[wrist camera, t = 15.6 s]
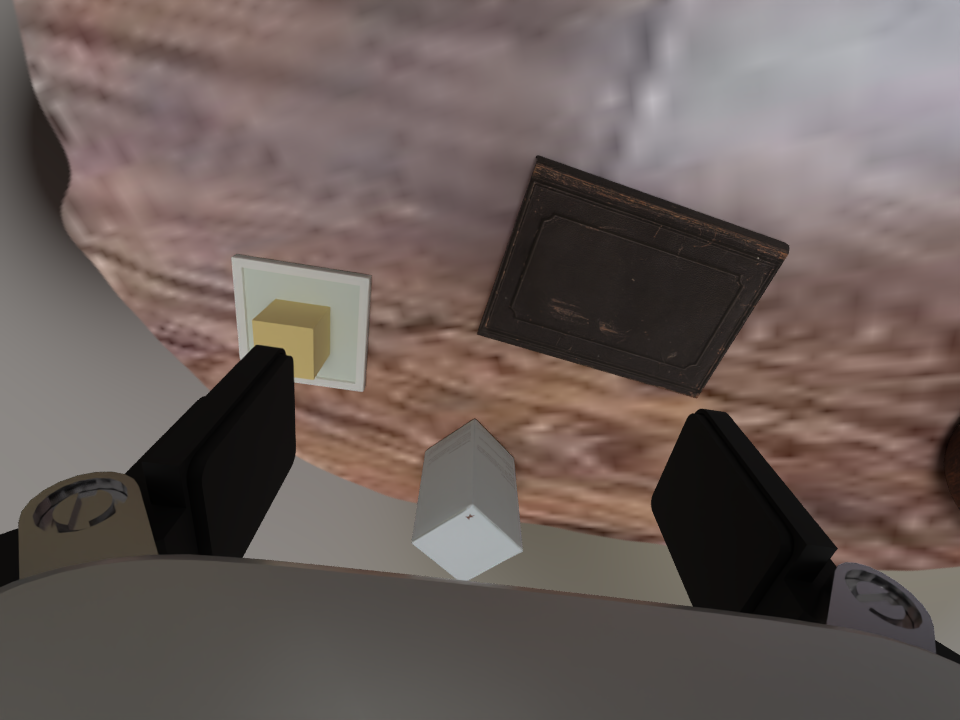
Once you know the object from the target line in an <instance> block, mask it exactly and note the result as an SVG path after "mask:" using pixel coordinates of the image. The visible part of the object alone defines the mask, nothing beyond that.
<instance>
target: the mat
mask: <svg viewBox="0 0 960 720" xmlns="http://www.w3.org/2000/svg"><path fill="white" fill-rule="evenodd" d="M231 259H232V270H233V282H234V294H235V306H236V318H237V329H238V341H239V353H240V360H241V359H242V358H243V357H244V356H245V355H246V354H247V353H248V352H249V351H250V350H251V349H252V348H253V347H254V341H253V328H252V320H253V319H254V318H255V317H256V316H257V315H258V314H259V313H260V312H261V311H263V310H264V309H265V308H266V307H267V306H268V305H269V304H270V303H271V302H273V301H274V300H275V299H280V300H287V301H294V302H301V303H308V304H314V305H321V306H328V307H330V355H329V357H328V358H327V360H326V361H325V363H324V364H323V366H322V368H321V369H320V371H319V372H318V374H317V376H316V377H315V379H314V380H310V379H302V378H295V377H294V382H296V383H303V384H310V385H317V386H324V387H331V388H339V389H346V390H353V391H360V392H363V391H364V388H365V382H366V364H367V347H368V330H369V313H370V295H371V278H372V275H367V274H361V273H354V272H348V271H341V270H335V269H329V268H322V267H316V266H310V265H303V264H297V263H291V262H284V261H278V260H272V259H265V258H259V257H253V256H246V255H240V254H236V255H234V256H232V257H231Z"/></svg>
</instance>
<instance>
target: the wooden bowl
mask: <svg viewBox="0 0 960 720" xmlns="http://www.w3.org/2000/svg"><path fill="white" fill-rule="evenodd" d="M944 471H945V476H946V481H947V484H948V487H949V490H950V492H951V495H952V497H953V499H954V501H955V503H956V504H957V506H958V508H959V509H960V423H959V424H958V426H957V427H956V429H955V431H954V432H953V434H952V436H951V438H950V441H949V443H948V446H947V450H946V453H945V459H944Z"/></svg>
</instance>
